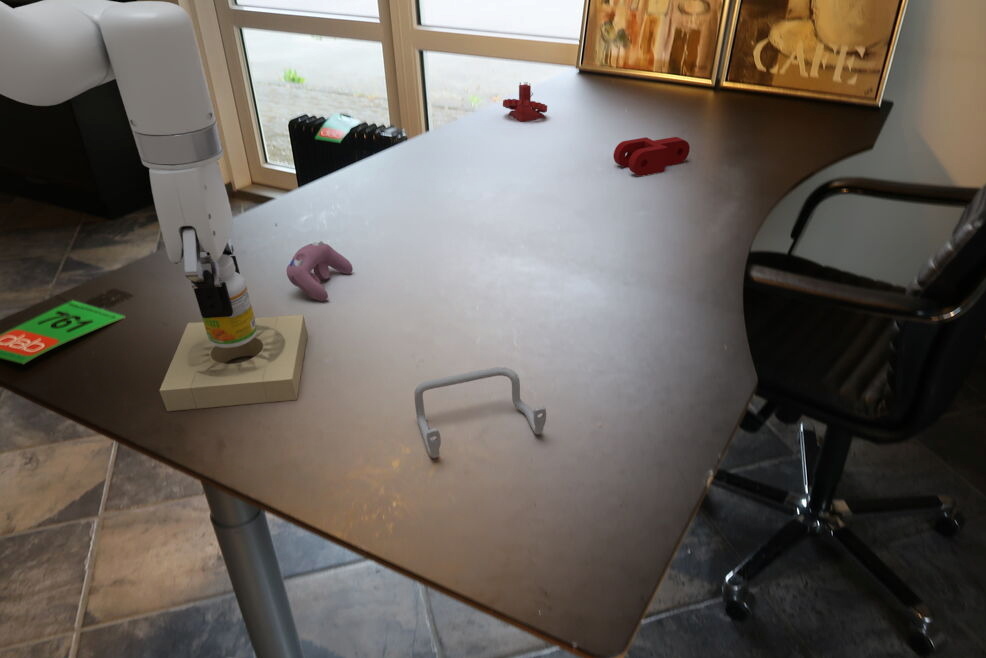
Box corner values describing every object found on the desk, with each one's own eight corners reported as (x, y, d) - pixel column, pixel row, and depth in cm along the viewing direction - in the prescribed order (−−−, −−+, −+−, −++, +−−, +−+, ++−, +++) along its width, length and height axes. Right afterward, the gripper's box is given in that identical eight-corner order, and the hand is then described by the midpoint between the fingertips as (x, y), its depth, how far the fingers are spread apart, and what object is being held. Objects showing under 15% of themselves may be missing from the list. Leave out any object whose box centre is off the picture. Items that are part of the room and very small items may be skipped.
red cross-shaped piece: (552, 112, 176) (553, 77, 172) (541, 126, 167) (542, 89, 162) (511, 108, 178) (511, 74, 173) (497, 122, 169) (497, 86, 164)
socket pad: (166, 411, 78) (159, 390, 77) (194, 342, 90) (187, 322, 88) (296, 399, 81) (292, 378, 79) (307, 334, 92) (303, 314, 90)
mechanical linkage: (632, 177, 140) (635, 153, 137) (612, 166, 145) (614, 142, 143) (695, 165, 147) (698, 141, 144) (673, 155, 152) (676, 132, 149)
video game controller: (334, 278, 107) (308, 238, 104) (357, 269, 106) (331, 228, 102) (303, 310, 99) (274, 268, 96) (328, 301, 98) (299, 258, 95)
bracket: (429, 466, 73) (426, 431, 69) (414, 416, 78) (410, 382, 75) (546, 439, 76) (548, 405, 73) (522, 393, 82) (523, 359, 79)
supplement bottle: (199, 338, 82) (176, 264, 76) (239, 319, 85) (219, 246, 80) (227, 354, 79) (206, 278, 74) (267, 333, 83) (249, 259, 77)
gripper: (161, 118, 75) (204, 268, 86) (111, 175, 62) (169, 346, 72) (234, 116, 77) (268, 264, 87) (201, 172, 63) (246, 340, 73)
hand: (223, 300), depth 80 cm, fingers closed on supplement bottle, 5 cm apart
